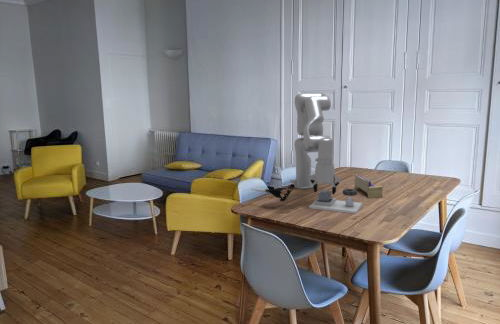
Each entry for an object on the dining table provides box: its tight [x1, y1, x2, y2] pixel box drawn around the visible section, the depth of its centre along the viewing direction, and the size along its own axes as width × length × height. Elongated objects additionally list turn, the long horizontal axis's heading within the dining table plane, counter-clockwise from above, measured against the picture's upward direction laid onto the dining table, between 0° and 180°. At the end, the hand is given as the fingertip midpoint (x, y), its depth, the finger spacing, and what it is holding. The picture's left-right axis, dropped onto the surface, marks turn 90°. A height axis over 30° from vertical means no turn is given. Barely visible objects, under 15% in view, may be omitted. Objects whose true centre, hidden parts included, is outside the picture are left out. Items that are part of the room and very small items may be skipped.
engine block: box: [318, 189, 332, 203], centre depth 204 cm, size 5×6×7 cm
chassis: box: [308, 196, 363, 214], centre depth 202 cm, size 24×16×6 cm, turn 63°
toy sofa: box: [354, 173, 384, 199], centre depth 227 cm, size 21×9×10 cm, turn 8°
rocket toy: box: [250, 183, 295, 202], centre depth 205 cm, size 14×6×23 cm
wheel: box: [342, 188, 358, 197], centre depth 198 cm, size 7×7×2 cm
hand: (324, 192), depth 205 cm, fingers open, 9 cm apart
